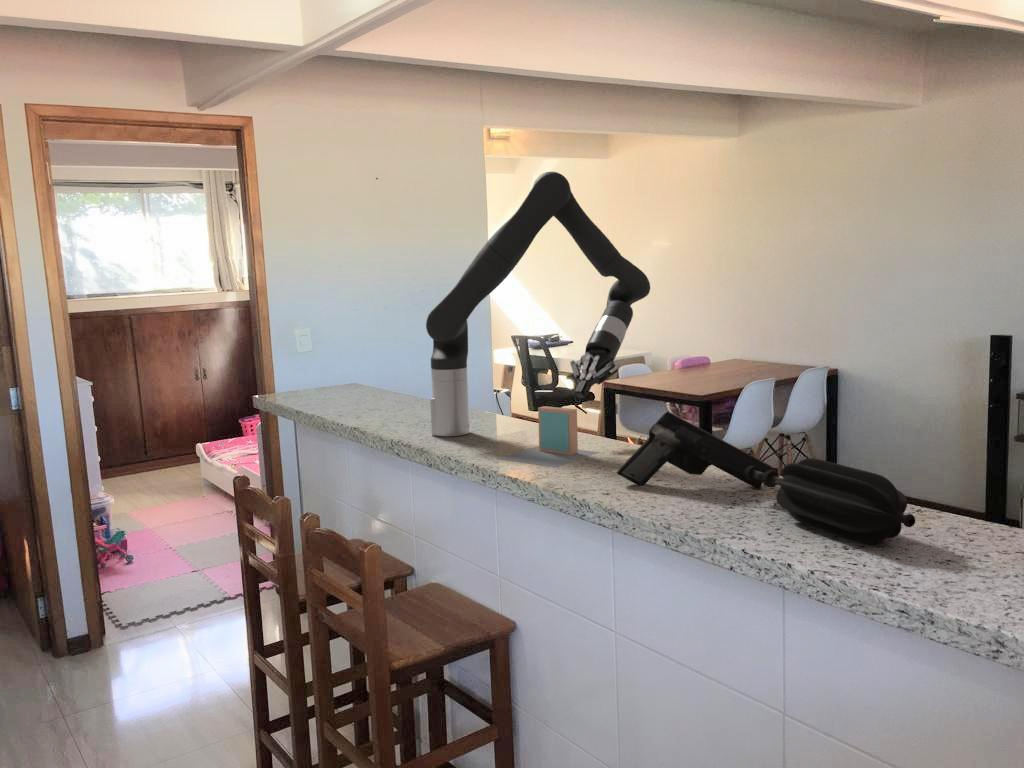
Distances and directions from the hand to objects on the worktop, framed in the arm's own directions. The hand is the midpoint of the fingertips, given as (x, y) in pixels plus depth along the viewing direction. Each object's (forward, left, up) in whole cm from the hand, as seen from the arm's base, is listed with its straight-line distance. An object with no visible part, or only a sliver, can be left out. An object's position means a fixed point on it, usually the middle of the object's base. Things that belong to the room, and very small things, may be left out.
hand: (580, 395), depth 196 cm
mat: (-7, -11, -12) cm, 18 cm away
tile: (-5, -8, -12) cm, 15 cm away
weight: (+42, -60, -12) cm, 74 cm away
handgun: (+23, -36, -12) cm, 45 cm away
